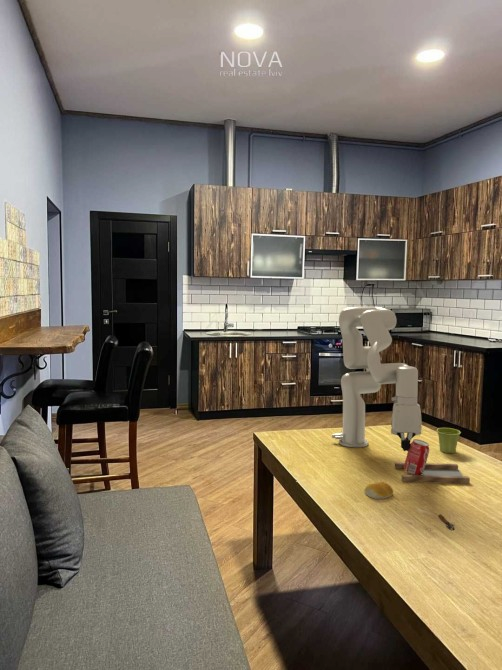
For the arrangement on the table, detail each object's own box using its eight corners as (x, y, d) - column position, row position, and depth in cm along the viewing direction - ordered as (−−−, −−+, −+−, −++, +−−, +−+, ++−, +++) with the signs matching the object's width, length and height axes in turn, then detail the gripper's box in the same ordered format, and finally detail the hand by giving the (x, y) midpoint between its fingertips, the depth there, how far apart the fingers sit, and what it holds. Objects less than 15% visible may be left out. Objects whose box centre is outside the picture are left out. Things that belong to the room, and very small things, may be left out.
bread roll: (397, 495, 170) (397, 484, 170) (378, 502, 165) (379, 490, 165) (378, 487, 177) (378, 476, 177) (360, 493, 172) (360, 481, 172)
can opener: (437, 517, 154) (438, 513, 154) (445, 517, 154) (445, 513, 154) (449, 532, 145) (449, 528, 145) (457, 532, 145) (457, 528, 145)
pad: (427, 480, 182) (427, 480, 182) (419, 469, 193) (419, 469, 193) (467, 481, 181) (467, 480, 181) (457, 470, 192) (458, 469, 192)
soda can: (420, 471, 191) (428, 441, 189) (424, 479, 184) (433, 447, 182) (401, 467, 191) (409, 436, 190) (404, 474, 185) (413, 443, 183)
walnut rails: (402, 482, 181) (402, 476, 181) (394, 467, 195) (394, 462, 195) (469, 483, 179) (469, 478, 179) (456, 469, 193) (456, 463, 193)
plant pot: (463, 450, 214) (464, 430, 213) (454, 456, 207) (455, 435, 206) (441, 446, 221) (442, 426, 220) (432, 451, 214) (432, 431, 213)
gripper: (387, 402, 182) (386, 452, 184) (430, 403, 181) (429, 453, 182) (383, 398, 189) (382, 446, 191) (425, 398, 188) (424, 447, 190)
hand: (405, 449), depth 187 cm, fingers closed
